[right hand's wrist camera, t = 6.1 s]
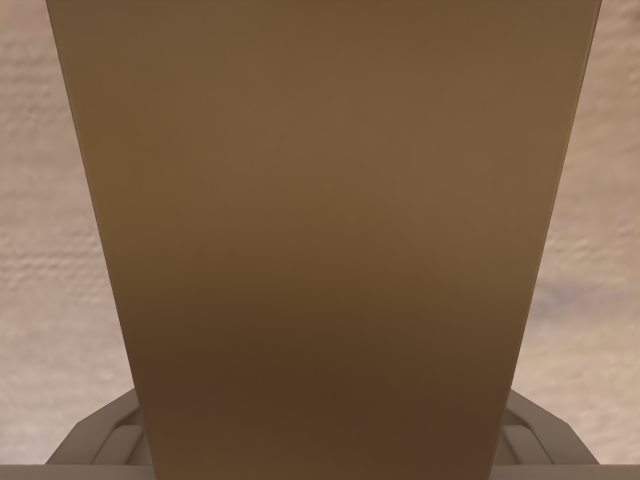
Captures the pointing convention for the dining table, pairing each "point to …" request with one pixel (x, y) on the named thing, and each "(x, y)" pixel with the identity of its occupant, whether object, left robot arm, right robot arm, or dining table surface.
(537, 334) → the dining table surface
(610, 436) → the dining table surface
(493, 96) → the bar
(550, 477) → the right robot arm
